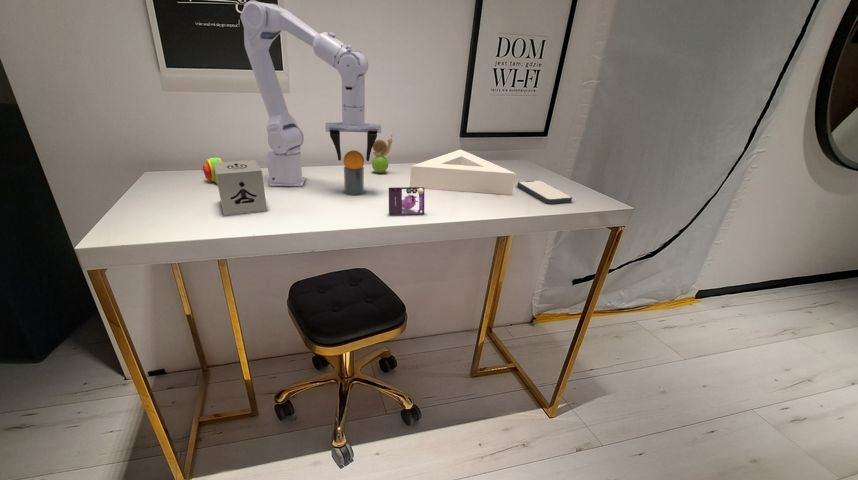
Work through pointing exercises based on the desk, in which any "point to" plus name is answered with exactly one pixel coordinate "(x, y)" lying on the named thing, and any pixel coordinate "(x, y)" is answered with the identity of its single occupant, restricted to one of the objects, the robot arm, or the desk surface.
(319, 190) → the desk surface
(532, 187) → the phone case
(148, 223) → the desk surface
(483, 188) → the triangle block
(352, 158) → the ball
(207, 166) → the red green curved piece
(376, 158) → the snail figurine
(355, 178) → the cup
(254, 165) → the icon cube
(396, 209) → the purple product box
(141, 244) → the desk surface
